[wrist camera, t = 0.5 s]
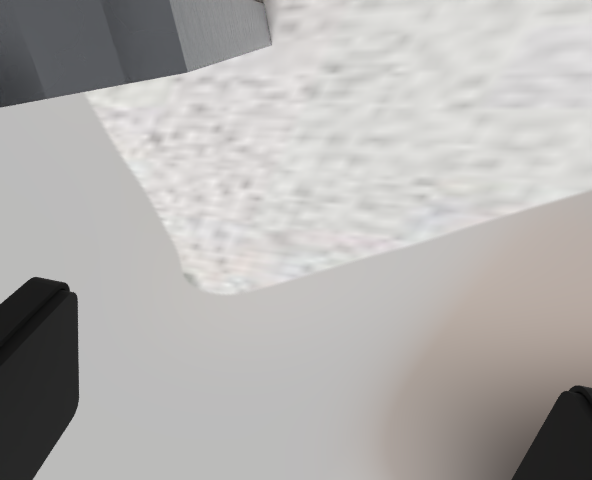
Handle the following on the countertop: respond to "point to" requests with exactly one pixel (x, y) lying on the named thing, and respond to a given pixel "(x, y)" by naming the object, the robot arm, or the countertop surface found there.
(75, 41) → the frame
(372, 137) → the countertop surface
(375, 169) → the countertop surface
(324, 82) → the countertop surface
